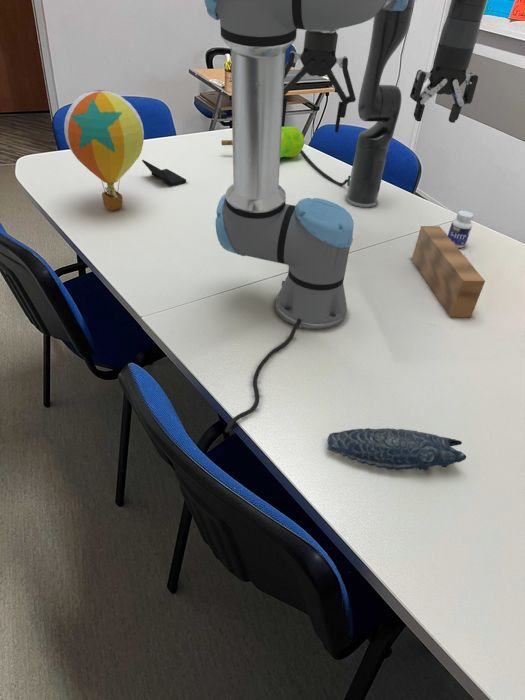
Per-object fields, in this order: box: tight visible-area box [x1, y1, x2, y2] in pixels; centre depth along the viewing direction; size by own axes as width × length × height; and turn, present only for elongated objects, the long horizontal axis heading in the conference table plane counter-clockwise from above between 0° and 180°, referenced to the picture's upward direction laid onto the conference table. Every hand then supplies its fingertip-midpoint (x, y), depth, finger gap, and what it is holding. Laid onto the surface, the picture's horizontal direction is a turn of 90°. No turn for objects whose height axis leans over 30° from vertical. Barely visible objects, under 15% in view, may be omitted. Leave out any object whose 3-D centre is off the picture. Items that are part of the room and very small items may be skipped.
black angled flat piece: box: [141, 159, 187, 187], centre depth 162 cm, size 12×7×10 cm
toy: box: [63, 89, 145, 212], centre depth 136 cm, size 20×20×30 cm
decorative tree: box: [221, 126, 305, 159], centre depth 185 cm, size 18×10×30 cm
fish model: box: [326, 427, 467, 471], centre depth 80 cm, size 7×21×5 cm, turn 84°
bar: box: [411, 225, 486, 318], centre depth 122 cm, size 26×5×9 cm, turn 6°
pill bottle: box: [447, 210, 474, 249], centre depth 141 cm, size 5×5×9 cm
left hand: (309, 128), depth 131 cm, fingers open, 13 cm apart
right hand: (434, 121), depth 122 cm, fingers open, 8 cm apart
